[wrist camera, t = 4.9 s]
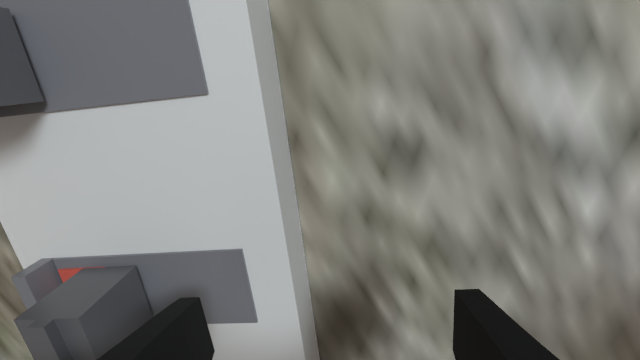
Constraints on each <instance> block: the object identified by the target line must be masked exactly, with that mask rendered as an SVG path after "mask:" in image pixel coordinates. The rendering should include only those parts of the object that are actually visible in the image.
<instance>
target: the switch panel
mask: <svg viewBox="0 0 640 360" xmlns="http://www.w3.org/2000/svg"><path fill="white" fill-rule="evenodd" d="M0 7H3V8H9V10H10V13H11V15H12V18H13V21H14V23H15V26H16V28H17V31H18V34H19V36H20V39H21V42H22V44H23V47H24V49H25V52H26V55H27V57H28V60H29V63H30V65H31V68H32V70H33V73H34V76H35V78H36V81H37V84H38V86H39V89H40V91H41V94H42V97H43V99H44V102H35V103H27V104H19V105H10V106H2V107H0V222H1V224H2V226H3V228H4V230H5V232H6V234H7V236H8V238H9V240H10V242H11V244H12V247H13V249H14V251H15V253H16V255H17V257H18V259H19V261H20V263H21V265H22V267H23V269H24V270H22V271H20V272H19V273H17V274H16V275H14V276H12V277H11V278H12V280H13V282H14V284H15V286H16V288H17V290H18V292H19V294H20V296H21V298H22V300H23V302H24V304H25V306H26V308H27V310H28V309H29V308H30V307H32V306H33V305H34V304H36V303H37V302H38V301H40V300H41V299H42V298H44V297H45V296H46V295H48V294H49V293H50V292H52V291H53V290H55V289H56V288H57V287H59V286H60V285H61V284H63V283H64V282H65V281H67V280H68V279H69V278H71V277H72V276H73V275H75V274H76V273H77V272H79V271H80V270H81V269H84V268H106V267H129V266H136V269H137V272H138V275H139V278H140V281H141V284H142V287H143V290H144V292H145V295H146V298H147V301H148V304H149V307H150V310H151V313H152V315H153V317H154V316H155V315H157V314H158V313H159V312H161V311H162V310H163V309H165V308H166V307H168V306H169V305H170V304H172V303H173V302H175V301H176V300H178V299H179V298H188V297H200V300H201V304H202V307H203V311H204V314H205V318H206V321H207V325H208V329H209V332H210V336H211V339H212V343H213V346H214V350H215V352H214V355H213V358H212V360H320V357H319V350H318V343H317V336H316V330H315V323H314V316H313V309H312V302H311V295H310V288H309V281H308V274H307V268H306V261H305V254H304V247H303V240H302V233H301V226H300V219H299V213H298V206H297V199H296V192H295V185H294V178H293V171H292V164H291V158H290V151H289V144H288V137H287V130H286V123H285V116H284V109H283V103H282V96H281V89H280V82H279V75H278V68H277V61H276V54H275V48H274V41H273V34H272V27H271V20H270V13H269V6H268V0H0Z"/></svg>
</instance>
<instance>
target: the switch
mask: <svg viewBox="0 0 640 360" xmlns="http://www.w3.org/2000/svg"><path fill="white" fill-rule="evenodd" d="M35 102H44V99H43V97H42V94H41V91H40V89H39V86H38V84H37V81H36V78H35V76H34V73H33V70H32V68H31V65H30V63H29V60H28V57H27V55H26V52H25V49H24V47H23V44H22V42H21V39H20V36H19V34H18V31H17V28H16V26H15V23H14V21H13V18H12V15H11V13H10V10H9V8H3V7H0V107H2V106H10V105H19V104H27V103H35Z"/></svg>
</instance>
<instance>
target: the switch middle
mask: <svg viewBox="0 0 640 360" xmlns="http://www.w3.org/2000/svg"><path fill="white" fill-rule="evenodd" d="M151 318H153V315H152V313H151V310H150V307H149V304H148V301H147V298H146V295H145V292H144V290H143V287H142V284H141V281H140V278H139V275H138V272H137V269H136V266H129V267H106V268H84V269H81V270H80V271H79V272H77V273H76V274H75V275H73V276H72V277H71V278H69V279H68V280H67V281H65V282H64V283H63V284H61V285H60V286H59V287H57V288H56V289H55V290H53V291H52V292H50V293H49V294H48V295H46V296H45V297H44V298H42V299H41V300H40V301H38V302H37V303H36V304H34V305H33V306H32V307H30V308H29V309H28V310H26V311H25V312H24V313H22V314H21V315H20V316H18V317H17V318H16V319H14V322H15V323H16V325H17V327H18V329H19V331H20V333H21V335H22V337H23V339H24V341H25V343H26V344H27V346H28V348H29V350H30V352H31V354H32V356H33V358H34V360H97V359H98V358H99V357H101V356H102V355H104V354H105V353H106V352H108V351H109V350H110V349H112V348H113V347H114V346H116V345H117V344H118V343H120V342H121V341H122V340H124V339H125V338H126V337H128V336H129V335H130V334H132V333H133V332H134V331H136V330H137V329H138V328H139V327H141V326H142V325H143V324H145V323H146V322H147V321H149V320H150V319H151Z"/></svg>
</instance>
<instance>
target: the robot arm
mask: <svg viewBox="0 0 640 360" xmlns="http://www.w3.org/2000/svg"><path fill="white" fill-rule="evenodd" d="M214 352H215V350H214V346H213V343H212V339H211V336H210V332H209V329H208V325H207V321H206V318H205V314H204V311H203V307H202V304H201V300H200V297H188V298H179V299H178V300H176V301H175V302H173V303H172V304H170V305H169V306H168V307H166V308H165V309H163V310H162V311H161V312H159V313H158V314H157V315H155V316H154V317H153V318H151V319H150V320H149V321H147V322H146V323H145V324H143V325H142V326H141V327H139V328H138V329H137V330H136V331H134V332H133V333H132V334H130V335H129V336H128V337H126V338H125V339H124V340H122V341H121V342H120V343H118V344H117V345H116V346H114V347H113V348H112V349H110V350H109V351H108V352H106V353H105V354H104V355H102V356H101V357H99V358H98V359H97V360H212V358H213V355H214ZM453 352H454V355H455V359H456V360H559V359H558V358H557V357H556V356H554V355H553V354H552V353H551V352H550V351H548V350H547V349H546V348H545V347H544V346H543V345H541V344H540V343H539V342H538V341H537V340H535V339H534V338H533V337H532V336H531V335H530V334H529V333H527V332H526V331H525V330H524V329H523V328H522V327H521V326H519V325H518V324H517V323H516V322H515V321H514V320H513V319H512V318H511V317H509V316H508V315H507V314H506V313H505V312H504V311H503V310H502V309H501V308H499V307H498V306H497V305H496V304H495V303H494V302H493V301H492V300H491V299H489V298H488V297H487V296H486V295H485V294H484V293H483V292H482V291H481V290H479V289H466V290H455V299H454V331H453Z"/></svg>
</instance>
